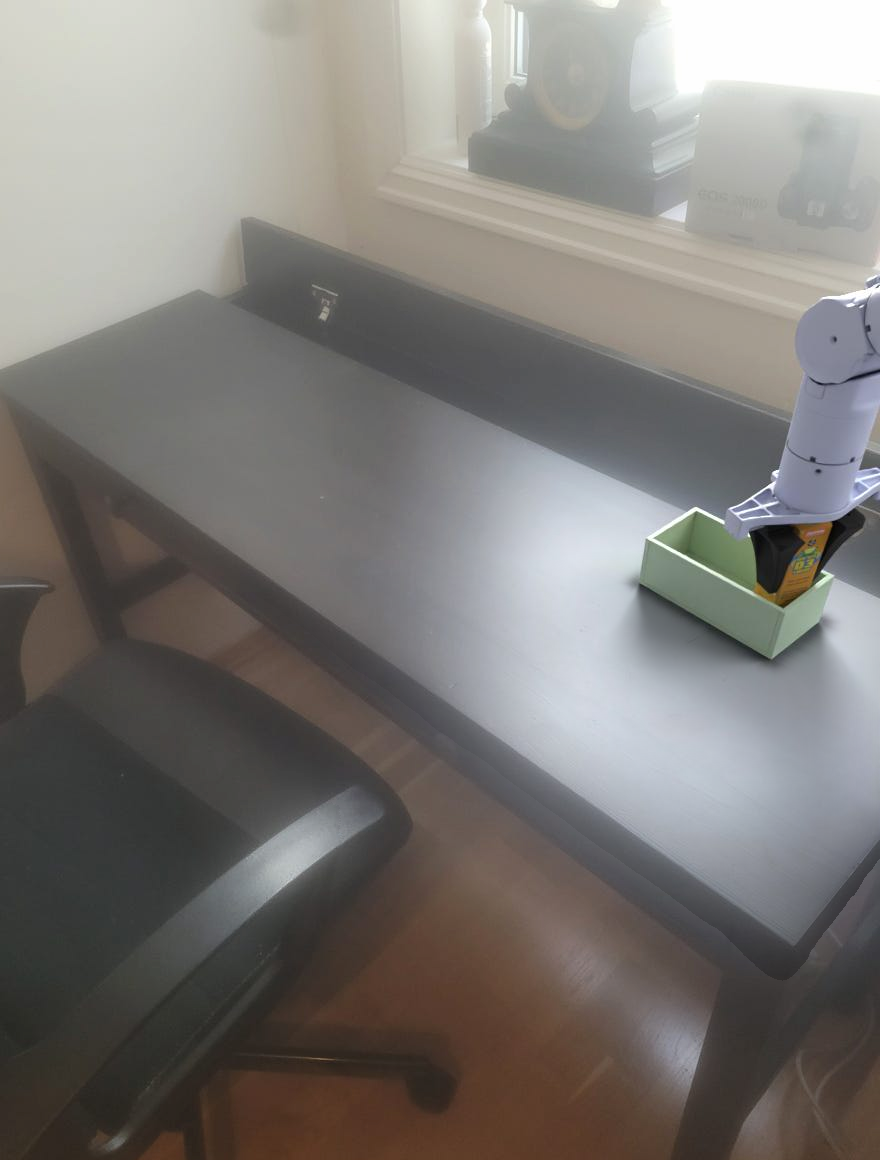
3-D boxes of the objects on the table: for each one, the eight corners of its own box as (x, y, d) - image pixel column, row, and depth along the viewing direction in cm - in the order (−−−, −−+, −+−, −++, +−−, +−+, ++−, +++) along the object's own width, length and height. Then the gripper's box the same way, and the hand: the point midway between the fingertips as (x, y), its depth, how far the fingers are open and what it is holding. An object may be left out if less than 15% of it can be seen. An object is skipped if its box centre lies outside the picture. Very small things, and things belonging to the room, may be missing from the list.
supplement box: (771, 621, 80) (798, 530, 73) (750, 598, 82) (774, 507, 75) (805, 613, 80) (834, 521, 73) (783, 590, 83) (809, 499, 76)
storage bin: (819, 621, 83) (834, 575, 79) (771, 660, 80) (785, 613, 76) (686, 551, 92) (695, 506, 88) (638, 582, 89) (645, 538, 85)
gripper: (866, 403, 74) (824, 536, 83) (714, 443, 71) (688, 575, 81) (930, 443, 69) (877, 579, 78) (770, 487, 66) (735, 623, 76)
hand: (785, 581), depth 79 cm, fingers closed on supplement box, 3 cm apart
